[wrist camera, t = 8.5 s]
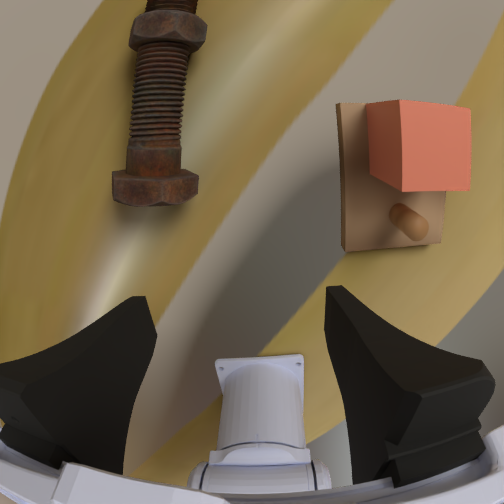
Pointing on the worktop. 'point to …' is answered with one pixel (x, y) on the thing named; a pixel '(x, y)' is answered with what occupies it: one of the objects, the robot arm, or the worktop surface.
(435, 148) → the salmon cube
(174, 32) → the bolt
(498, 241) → the worktop surface
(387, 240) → the stub block
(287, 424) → the robot arm
